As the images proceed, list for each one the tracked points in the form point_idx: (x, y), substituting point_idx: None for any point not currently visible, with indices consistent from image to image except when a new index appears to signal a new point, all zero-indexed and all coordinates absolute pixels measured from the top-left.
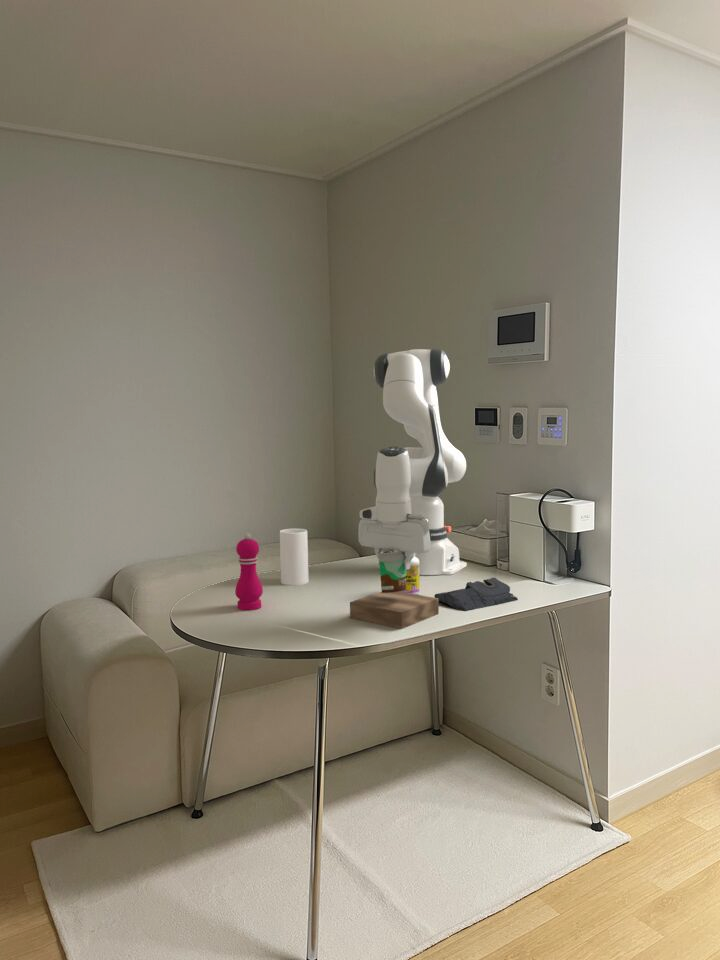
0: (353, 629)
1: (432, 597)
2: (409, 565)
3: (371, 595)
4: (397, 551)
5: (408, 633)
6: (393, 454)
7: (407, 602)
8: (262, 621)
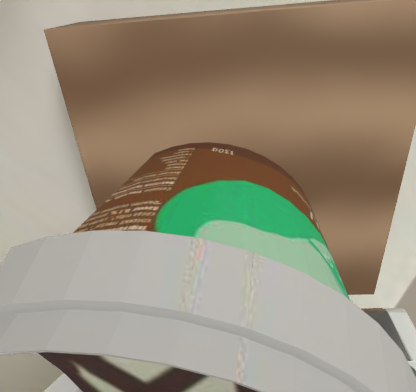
0: None
1: (399, 5)
2: (411, 334)
3: (95, 186)
4: (206, 388)
5: (395, 271)
6: None
7: (318, 182)
8: (14, 371)
